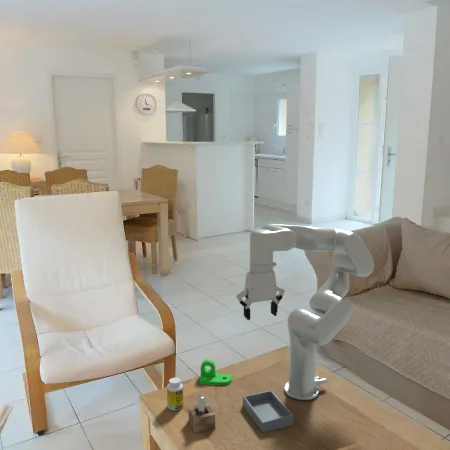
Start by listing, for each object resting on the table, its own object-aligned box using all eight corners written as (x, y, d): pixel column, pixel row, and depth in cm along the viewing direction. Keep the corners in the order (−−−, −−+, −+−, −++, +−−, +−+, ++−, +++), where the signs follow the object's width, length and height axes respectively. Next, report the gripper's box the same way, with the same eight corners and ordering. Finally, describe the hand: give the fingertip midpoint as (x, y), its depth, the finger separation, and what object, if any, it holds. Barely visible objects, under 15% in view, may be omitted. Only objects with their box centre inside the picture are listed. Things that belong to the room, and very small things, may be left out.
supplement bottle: (176, 413, 158) (175, 386, 156) (164, 408, 161) (163, 381, 159) (186, 405, 163) (186, 379, 161) (174, 400, 166) (173, 374, 164)
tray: (271, 399, 166) (271, 390, 166) (293, 425, 152) (293, 415, 151) (242, 405, 163) (242, 396, 162) (262, 432, 148) (262, 422, 147)
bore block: (208, 416, 156) (208, 403, 155) (215, 428, 150) (215, 414, 149) (188, 420, 154) (188, 407, 153) (194, 433, 148) (194, 419, 147)
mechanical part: (199, 385, 176) (199, 366, 174) (201, 377, 182) (201, 359, 180) (230, 387, 175) (230, 367, 173) (231, 379, 181) (231, 360, 179)
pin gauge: (204, 421, 154) (203, 394, 152) (206, 425, 151) (206, 398, 149) (197, 423, 153) (196, 396, 151) (199, 427, 150) (199, 399, 148)
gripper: (279, 261, 157) (278, 309, 160) (232, 267, 151) (232, 316, 154) (290, 267, 150) (289, 316, 153) (241, 273, 144) (241, 324, 147)
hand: (260, 316), depth 154 cm, fingers open, 9 cm apart
